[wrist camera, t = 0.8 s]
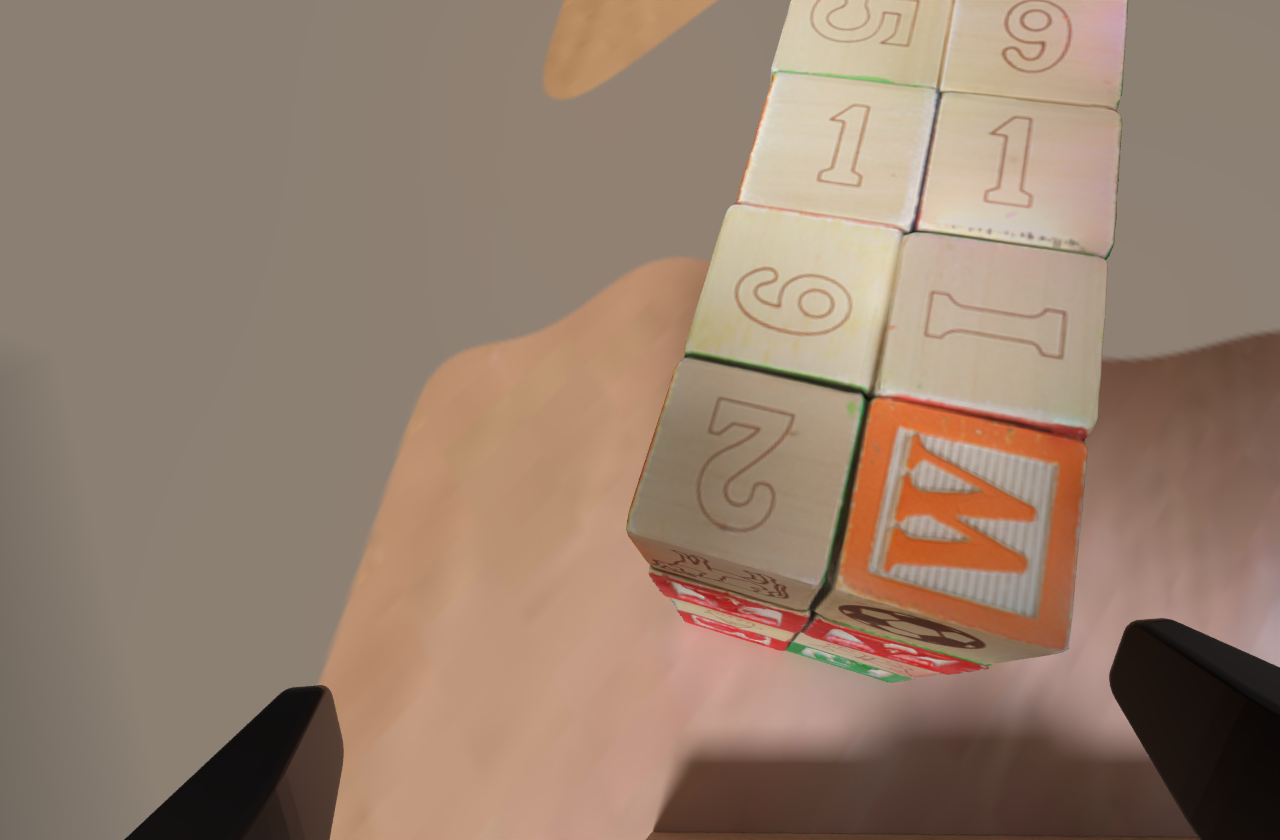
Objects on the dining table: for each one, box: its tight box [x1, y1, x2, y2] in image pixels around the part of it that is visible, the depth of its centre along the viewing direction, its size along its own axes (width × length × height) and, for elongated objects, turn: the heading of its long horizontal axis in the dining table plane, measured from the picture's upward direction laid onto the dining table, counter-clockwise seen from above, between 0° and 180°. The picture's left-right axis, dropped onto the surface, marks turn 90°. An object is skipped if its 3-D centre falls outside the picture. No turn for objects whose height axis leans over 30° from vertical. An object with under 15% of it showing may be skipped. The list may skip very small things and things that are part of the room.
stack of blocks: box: [626, 0, 1128, 683], centre depth 19 cm, size 21×6×12 cm, turn 163°
